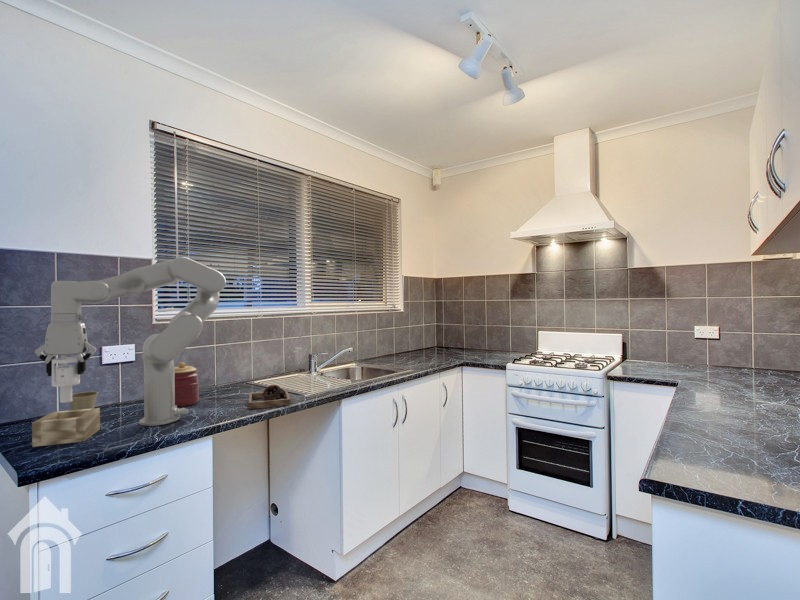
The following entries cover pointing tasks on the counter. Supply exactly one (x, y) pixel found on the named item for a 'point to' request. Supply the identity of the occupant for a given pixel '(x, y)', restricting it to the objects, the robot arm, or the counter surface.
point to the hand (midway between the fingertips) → (66, 374)
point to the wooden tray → (267, 403)
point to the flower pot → (83, 400)
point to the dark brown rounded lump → (273, 393)
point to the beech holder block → (65, 427)
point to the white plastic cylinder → (65, 376)
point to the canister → (186, 385)
